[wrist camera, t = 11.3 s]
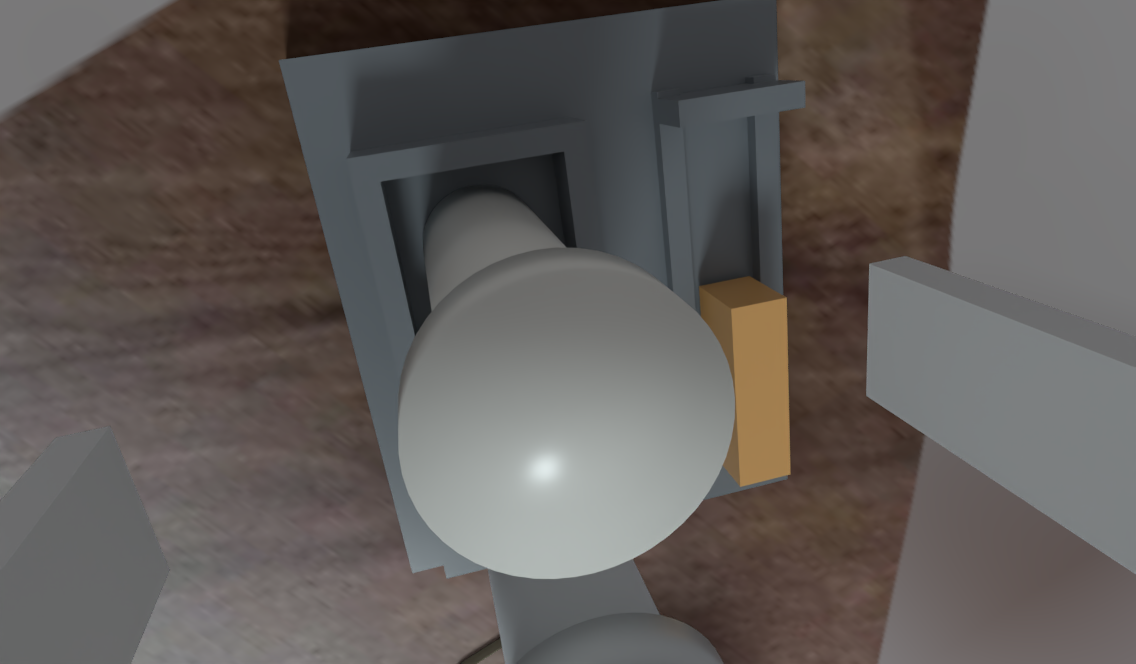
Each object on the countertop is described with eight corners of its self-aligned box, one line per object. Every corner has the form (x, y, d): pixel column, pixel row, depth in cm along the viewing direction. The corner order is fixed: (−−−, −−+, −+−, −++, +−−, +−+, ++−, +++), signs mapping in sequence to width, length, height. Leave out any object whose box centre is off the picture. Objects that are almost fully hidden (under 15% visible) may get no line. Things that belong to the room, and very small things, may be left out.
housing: (411, 549, 30) (425, 989, 16) (285, 60, 23) (102, 44, 9) (770, 461, 32) (1065, 769, 18) (755, -3, 25) (1215, -98, 11)
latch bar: (710, 450, 29) (740, 486, 27) (699, 286, 27) (731, 309, 24) (755, 439, 29) (790, 474, 27) (749, 276, 27) (786, 297, 24)
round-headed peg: (381, 174, 23) (360, 307, 10) (551, 147, 24) (727, 238, 11) (416, 336, 25) (436, 613, 12) (572, 305, 26) (741, 535, 13)
